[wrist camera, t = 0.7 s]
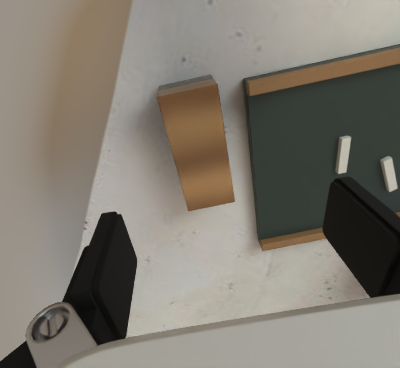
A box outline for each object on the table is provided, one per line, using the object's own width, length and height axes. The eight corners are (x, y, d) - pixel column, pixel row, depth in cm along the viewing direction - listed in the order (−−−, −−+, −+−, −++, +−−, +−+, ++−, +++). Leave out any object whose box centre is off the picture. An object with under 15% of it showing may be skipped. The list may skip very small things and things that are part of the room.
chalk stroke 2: (379, 159, 29) (383, 162, 29) (388, 155, 29) (392, 157, 29) (386, 189, 32) (389, 192, 31) (394, 185, 32) (398, 188, 31)
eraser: (159, 85, 24) (156, 97, 20) (210, 74, 24) (217, 83, 20) (186, 188, 31) (188, 211, 27) (227, 179, 31) (234, 201, 27)
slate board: (242, 78, 25) (248, 83, 23) (493, 23, 24) (520, 23, 22) (257, 239, 36) (262, 251, 34) (426, 205, 36) (440, 215, 34)
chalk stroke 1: (338, 137, 27) (342, 139, 27) (348, 135, 27) (351, 137, 27) (335, 171, 30) (337, 174, 29) (343, 169, 30) (346, 172, 29)
